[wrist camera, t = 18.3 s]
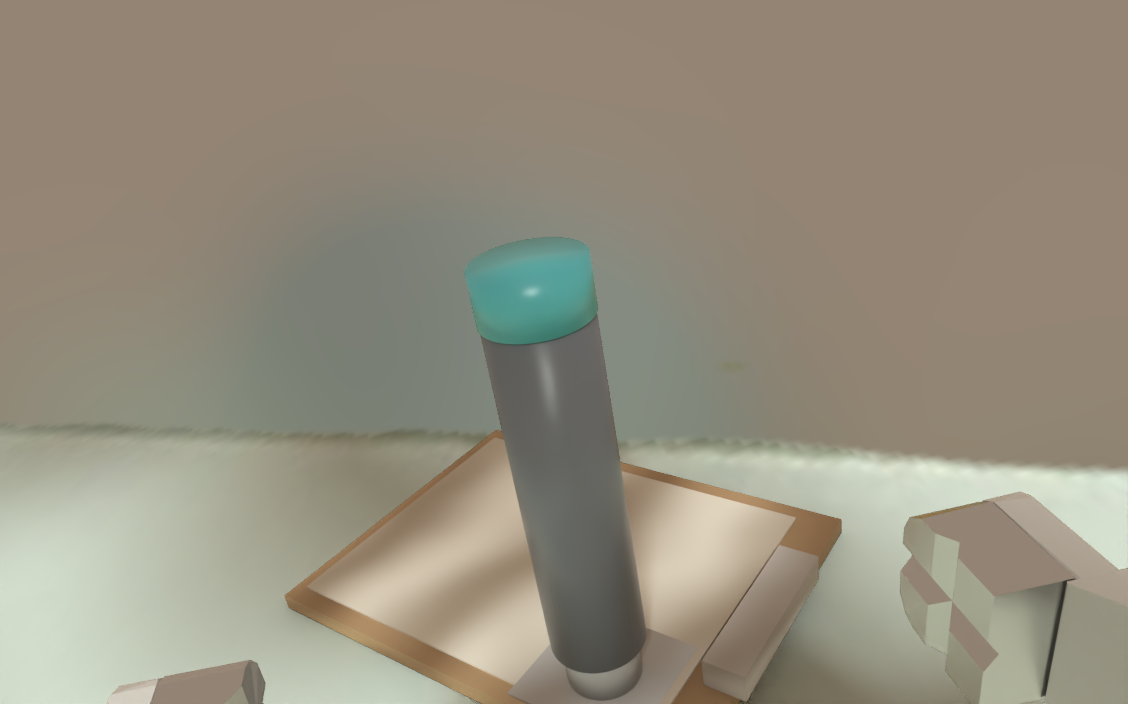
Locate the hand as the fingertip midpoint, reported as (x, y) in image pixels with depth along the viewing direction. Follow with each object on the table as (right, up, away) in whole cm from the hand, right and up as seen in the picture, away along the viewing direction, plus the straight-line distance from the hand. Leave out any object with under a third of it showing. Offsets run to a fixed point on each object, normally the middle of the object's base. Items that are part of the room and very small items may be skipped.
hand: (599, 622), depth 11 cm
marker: (+1, -7, +17) cm, 18 cm away
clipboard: (0, -5, +22) cm, 23 cm away
